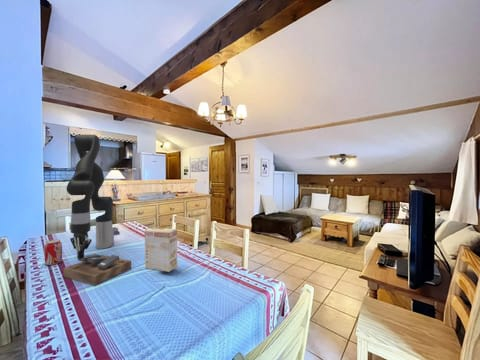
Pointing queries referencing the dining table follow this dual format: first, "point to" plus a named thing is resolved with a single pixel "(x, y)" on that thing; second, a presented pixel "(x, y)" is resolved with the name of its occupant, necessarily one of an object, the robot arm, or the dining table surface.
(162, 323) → the dining table surface
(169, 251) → the coffeecake box
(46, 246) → the soda can
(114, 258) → the rocker
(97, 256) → the rocker
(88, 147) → the robot arm
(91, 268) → the switch unit
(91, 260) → the rocker
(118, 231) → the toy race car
